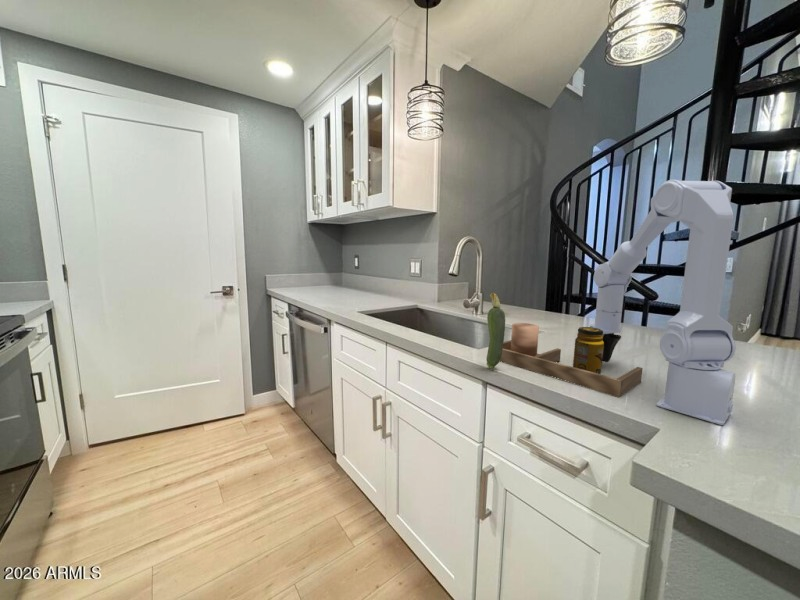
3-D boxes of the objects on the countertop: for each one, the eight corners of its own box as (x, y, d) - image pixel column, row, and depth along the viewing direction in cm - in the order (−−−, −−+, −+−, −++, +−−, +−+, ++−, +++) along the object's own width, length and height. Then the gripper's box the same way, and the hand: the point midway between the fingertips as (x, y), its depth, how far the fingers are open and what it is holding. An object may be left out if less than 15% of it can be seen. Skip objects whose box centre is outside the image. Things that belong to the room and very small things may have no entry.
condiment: (609, 381, 77) (614, 331, 75) (578, 383, 75) (582, 333, 74) (586, 370, 84) (590, 325, 82) (557, 372, 82) (560, 326, 81)
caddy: (640, 382, 76) (645, 341, 75) (618, 397, 68) (623, 351, 67) (515, 349, 102) (517, 318, 101) (488, 357, 94) (489, 324, 92)
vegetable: (500, 367, 86) (504, 291, 83) (504, 372, 82) (508, 293, 79) (483, 366, 86) (487, 291, 84) (486, 372, 82) (490, 293, 79)
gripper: (603, 306, 93) (599, 352, 95) (580, 311, 84) (575, 362, 86) (632, 309, 87) (627, 358, 89) (610, 315, 78) (605, 369, 80)
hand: (603, 360), depth 87 cm, fingers closed
